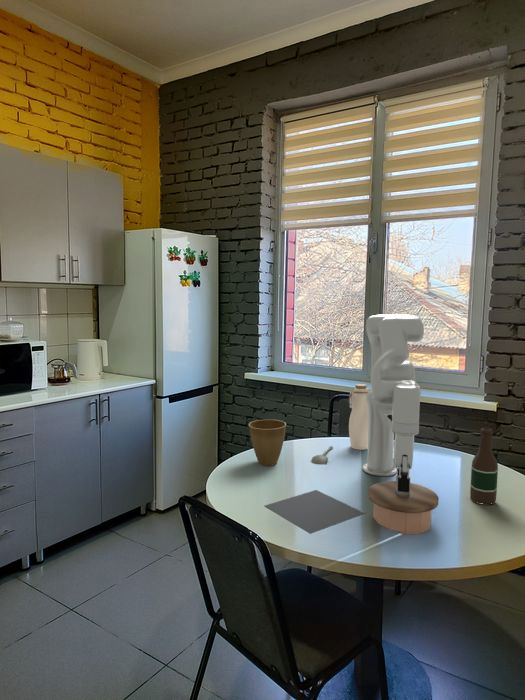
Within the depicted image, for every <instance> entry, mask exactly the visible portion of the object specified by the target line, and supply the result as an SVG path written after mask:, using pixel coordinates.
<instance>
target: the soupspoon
mask: <svg viewBox="0 0 525 700" xmlns="http://www.w3.org/2000/svg"><path fill="white" fill-rule="evenodd" d="M330 450H334V446H332V445H331V446H329V447H328V448H327V449H325V451H324V452H322V454H318V455H315V456H312V458H311V462H312V464H314V465H319V466H320V465H326V464H327V463H328V461H329V457H327V456H326V454H327V452H328V451H330Z"/></svg>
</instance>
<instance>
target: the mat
mask: <svg viewBox="0 0 525 700" xmlns="http://www.w3.org/2000/svg"><path fill="white" fill-rule="evenodd" d="M264 507H265V508H267V509H268V510H270V511H271V512H274V513H275V514H277V515H278V516H280V517H282V518H283V519H284V520H287V522H290V523H292V524H293V525H295V526H296V527H299V528H300V529H302V530H303V531H305V532H307V533H309V534H310V535H311V534H313V533H317V532H319V531H321V530H325V529H326V528H329V527H332V526H335V525H338V524H341V523H343V522H346V521H348V520H351V519H353V518H357V517H359V516H362V515H364V514H365V515H366V512H364V511H361V510H359V509H358V508H355V507H354V506H351V505H349V504H346V503H344V502H343V501H340V500H338V499H337V498H334V497H332V496H330V495H328V494H325V493H324V492H321V491H320V490H317V489H314V490H311V491H307V492H304V493H301V494H298V495H295V496H292V497H289V498H285V499H282V500H278V501H276V502H272V503H268V504H265V505H264Z"/></svg>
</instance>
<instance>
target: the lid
mask: <svg viewBox="0 0 525 700" xmlns="http://www.w3.org/2000/svg"><path fill="white" fill-rule="evenodd" d="M398 477H399V475H398V476H397V475H396V476H395V481H393V480H390V481H380V482H377V483H374V484H372V485H370V486H369V487H368V489H367V498H368V499H369V501H370V502H372V504H373V505H374V504H376V505H378V506H380V507H382V508H385V509H388V510H392V511H397V512H404V513H422V512H427V511H431V510H432V511H433V510H435V509H436V508H437V507H438V506H439V503H440V502H439V496H438V494H437V493H436V492H435V491H433V490H432V489H430V488H428V487H426V486H423V485H420V484H417V483H412V482H410V487H409V492H399V491H398ZM409 478H410V479H411V477H410V476H409Z"/></svg>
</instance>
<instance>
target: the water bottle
mask: <svg viewBox="0 0 525 700" xmlns="http://www.w3.org/2000/svg"><path fill="white" fill-rule="evenodd" d="M354 386H355V387H354V389H353V390H350V392H349V397H348V406H349V409H350V408H351V412H350V416H349V420H348V435H349V441H350V448H352V449H354V450H360V451H361V450H363V451H364V450H368V409H367V394H368V393H369V392H370V391H371V390H369V389H368V386H367V384H363V383H356V384H355V385H354Z"/></svg>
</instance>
